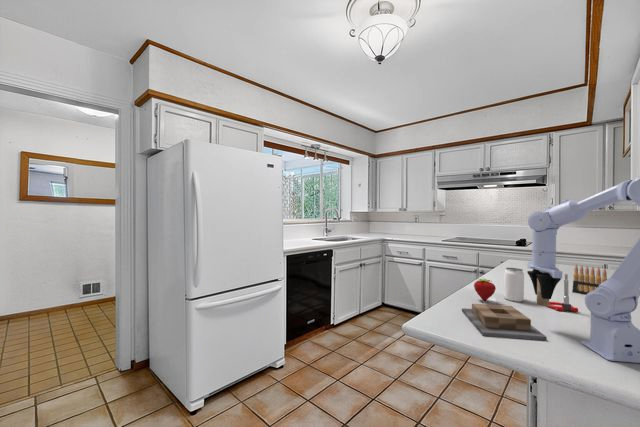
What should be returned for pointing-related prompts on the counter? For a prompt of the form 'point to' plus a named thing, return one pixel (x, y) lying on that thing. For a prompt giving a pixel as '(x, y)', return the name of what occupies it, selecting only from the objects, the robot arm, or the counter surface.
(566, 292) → the tow hook
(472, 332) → the counter surface
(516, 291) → the can
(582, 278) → the ammunition clip
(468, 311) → the holder
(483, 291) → the strawberry
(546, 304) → the peg
